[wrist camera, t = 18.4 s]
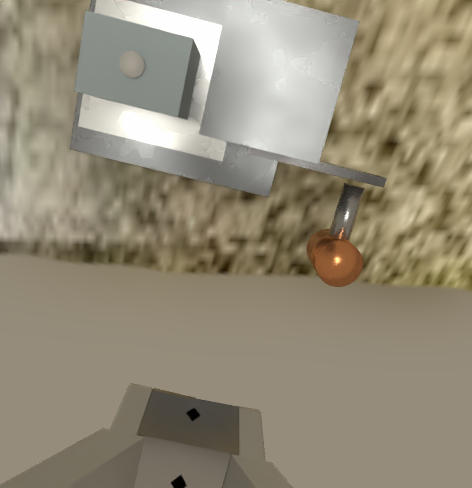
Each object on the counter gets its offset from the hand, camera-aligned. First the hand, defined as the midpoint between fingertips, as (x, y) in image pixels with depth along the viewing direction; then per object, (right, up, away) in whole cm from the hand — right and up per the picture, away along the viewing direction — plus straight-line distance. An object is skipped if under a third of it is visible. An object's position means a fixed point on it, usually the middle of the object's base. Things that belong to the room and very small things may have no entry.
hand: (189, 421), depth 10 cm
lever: (+8, +5, +21) cm, 24 cm away
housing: (-6, +17, +24) cm, 30 cm away
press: (0, +16, +26) cm, 31 cm away
